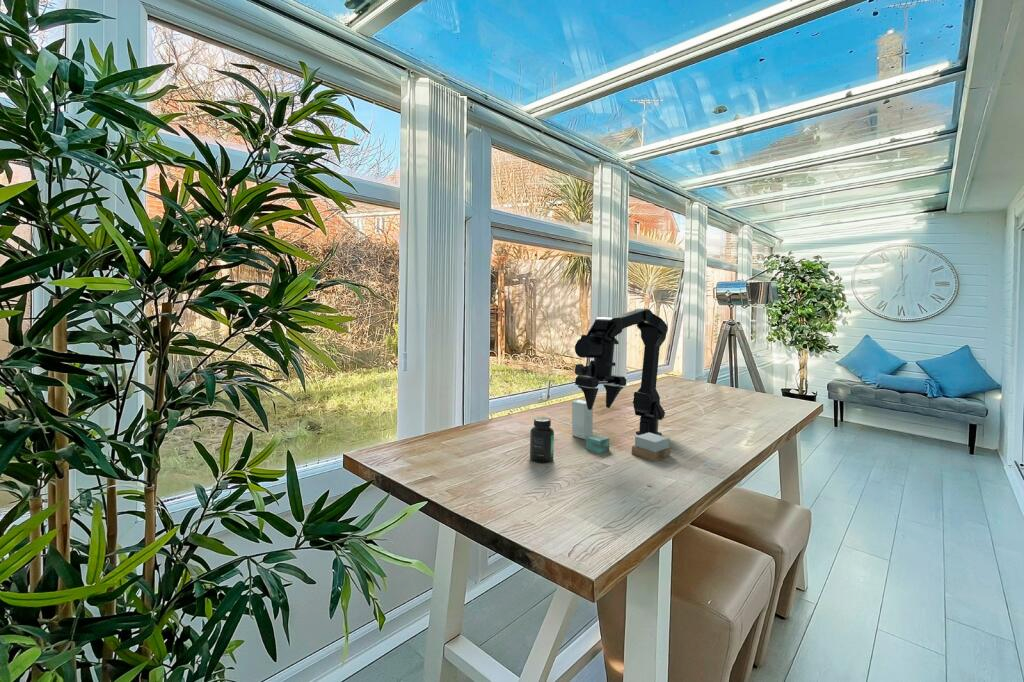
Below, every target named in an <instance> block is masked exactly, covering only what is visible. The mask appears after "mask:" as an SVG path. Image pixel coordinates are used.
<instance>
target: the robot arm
mask: <svg viewBox="0 0 1024 682" xmlns="http://www.w3.org/2000/svg"><path fill="white" fill-rule="evenodd" d="M632 326H636V327H637V328H638V329H639V331H640V338H641V340H642V343H643V345H644V348H643V360H642V361H643V362H642V371H641V381H640V387H639V388H638V390H637V391H634V393H633V401H632V404H633V410H634V413H635V414H634V415H635V416H639V417H640V418H639V427H638V428H639V430H638V431H635V434H638V435H642V434H645V433H653V434H657V435H660V436H663V435H662V432H659V420H660V421H662V420H663V419H664V418H665V415H666V411H665V409H664V408H663V407H662V406H661V403H660V402H661V397H660V395H659V392H658V391H657V381H658V380H657V378H658V368H659V360H660V348H661V346H662V344H663V343H664V342H665V340H666V337H667V333H668V330H669V329H668V325H667V323H666V322H665V321H664V319H662V318H661V317H660V316H658V315H656V313H655V314H654V313H653V312H652V311H651V310H650V309H649V308H635V309H634V310H631V311H628V312H625V313H622V314H619V315H616V316H599V317H596V318H595V319H594V322H593V324H592V325H591V327H590V328H589V330H588V332H587V334H581V335H580V338H579V339H578V340H577V341H576V343H575V345H574V352H575V354H576V356H577V357H579V358H582V359H583V358H584V359H585V358H586V359H593V360H590V361H589V365H584V364H583V363H578V364H575V366H574V374H575V375H577V376H576V377H575V380H574V382H575V383H574V385H575V386H577V388H579V389H580V390H581V391H582V392H583V395H584V398H585V401H586V403H587V408H588V410H591V409H592V407H593V408H594V405H595V401H596V398H597V394H598V392H599V388H598V386H599V385H603V387H604V389H605V408H607V409H610V408H611V407H612V405H613V403H614V401H615V400H616V398H617V397H618V395H619V394H620V392H621V391H622V390H623V389H624V387H626V386H627V378H626V377H625V376H621V375H617V374H616V375H615V374H613V367H616V362H614V350H615V345H619V344H620V343H619V340H617V338H616V337H617V336H618V335H620V334H621V333H622V332H623V330H624V329H625V328H626V329H627V328H629V327H632Z"/></svg>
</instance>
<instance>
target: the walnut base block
mask: <svg viewBox="0 0 1024 682" xmlns="http://www.w3.org/2000/svg"><path fill="white" fill-rule="evenodd" d="M631 455H633V456H636V457H638V458H640V459H645V460H648V461H651V462H655V463H656V462H658V461H661V460H663V459H666V458H669V457H671V447H670V446H669V448H667V449H664V450H661V451H658V452H652V451H649V450H646V449H643V448H639V447H636V446H635V444H634V445H632V446H631Z"/></svg>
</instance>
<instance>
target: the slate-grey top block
mask: <svg viewBox="0 0 1024 682" xmlns="http://www.w3.org/2000/svg"><path fill="white" fill-rule="evenodd" d="M634 445H635V446H636V447H639V448H643V449H646V450H649V451H652V452H658V451H661V450H664V449H667V448H669V447H670V437H668V436H663V435H657V434H653V433H645V434H642V435H640V434H638V435H635V438H634Z"/></svg>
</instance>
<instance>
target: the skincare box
mask: <svg viewBox="0 0 1024 682" xmlns="http://www.w3.org/2000/svg"><path fill="white" fill-rule="evenodd" d="M593 417H594V406H593V407H592V409H591V410H588V408H587V403H586V400H583V399H577V400H576V399H575V400H573V401H571V431H572V432H571V435H572V436H573V437H575V438H580V439H582V440H586V437H588V436H592V435H594V433H593V432H594V427H593V426H594V423H593V422H594V419H593Z"/></svg>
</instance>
